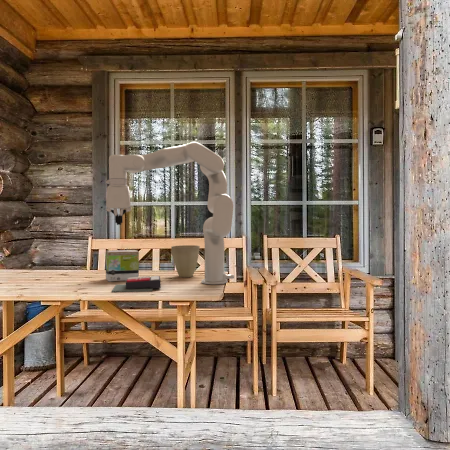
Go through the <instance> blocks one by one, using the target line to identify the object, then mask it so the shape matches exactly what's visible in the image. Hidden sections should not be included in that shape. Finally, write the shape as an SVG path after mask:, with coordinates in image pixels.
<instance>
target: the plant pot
mask: <svg viewBox="0 0 450 450" xmlns="http://www.w3.org/2000/svg"><path fill="white" fill-rule="evenodd" d="M200 247H201V246H200V245H197V244H196V245H194V244H191V245H187V244H186V245H185V244H182V245H181V244H179V245H172V246H171V254H172V259H173V263H174V267H175V269H176V272H177V275H178V278H179V277H180V278H191V277H193V276H194V275H195V270H196V269H197V268H196V267H197V265H198V260H199V254H200Z"/></svg>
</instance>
